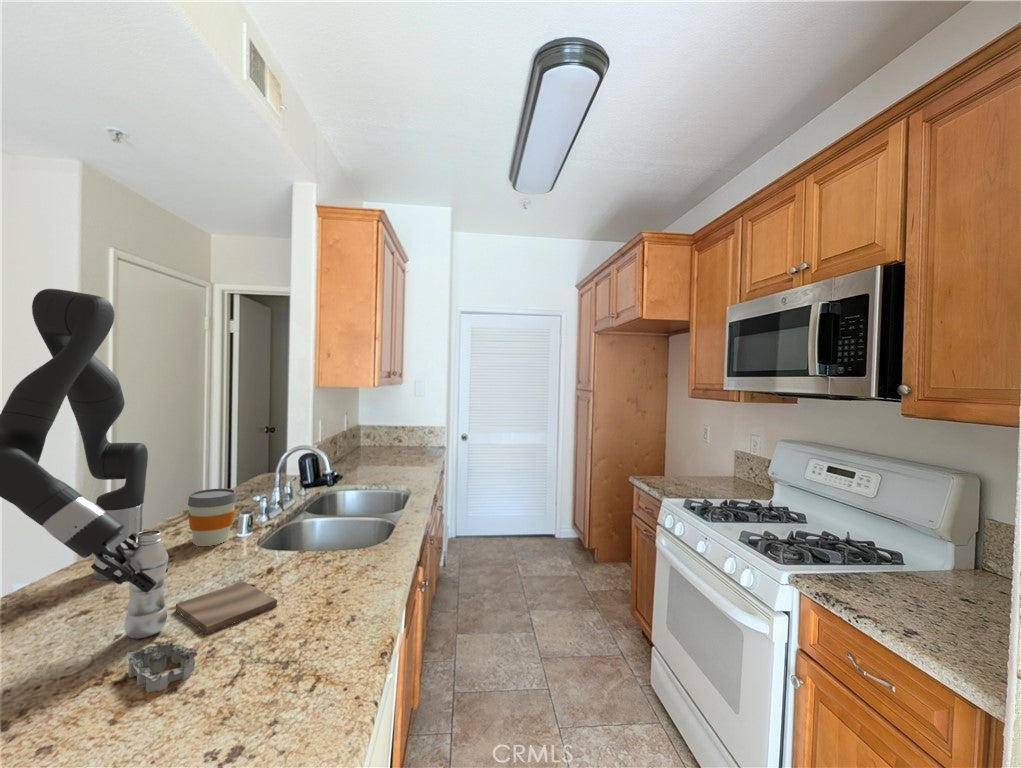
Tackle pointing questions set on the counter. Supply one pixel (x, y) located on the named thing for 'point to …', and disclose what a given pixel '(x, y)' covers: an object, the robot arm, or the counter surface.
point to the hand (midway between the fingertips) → (158, 580)
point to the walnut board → (225, 606)
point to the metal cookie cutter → (160, 664)
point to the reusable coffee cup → (211, 515)
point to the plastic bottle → (150, 607)
